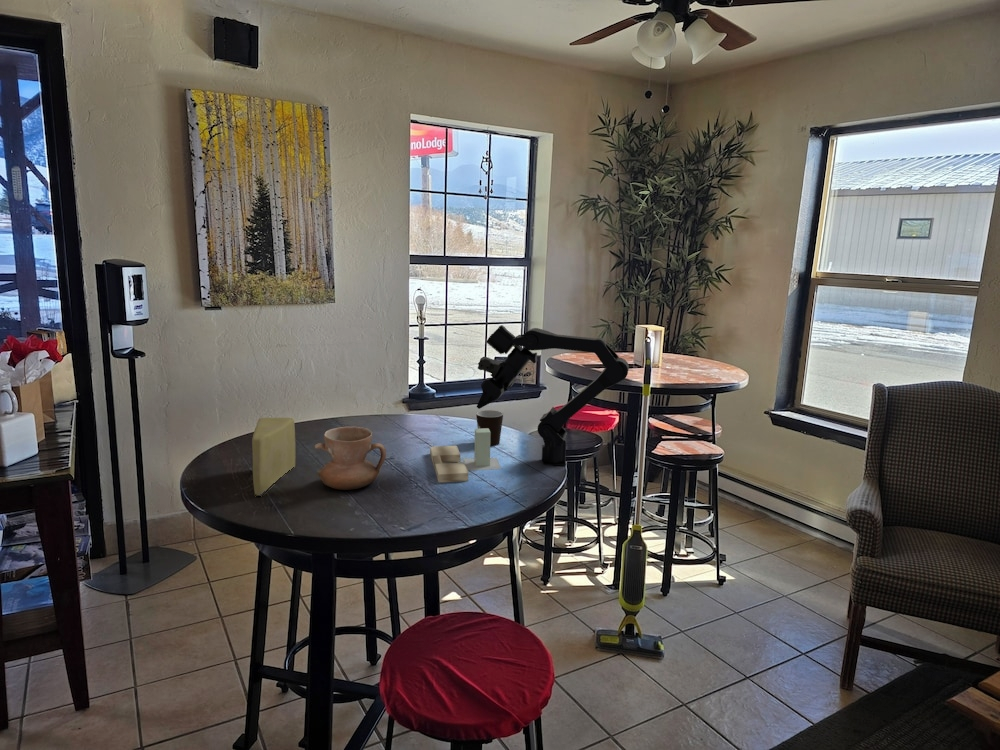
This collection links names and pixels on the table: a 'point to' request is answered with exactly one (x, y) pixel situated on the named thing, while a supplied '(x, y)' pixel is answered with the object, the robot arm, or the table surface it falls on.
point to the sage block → (482, 447)
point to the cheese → (272, 451)
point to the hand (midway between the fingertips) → (481, 404)
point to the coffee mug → (491, 424)
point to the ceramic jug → (349, 458)
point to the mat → (471, 466)
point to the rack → (448, 464)
